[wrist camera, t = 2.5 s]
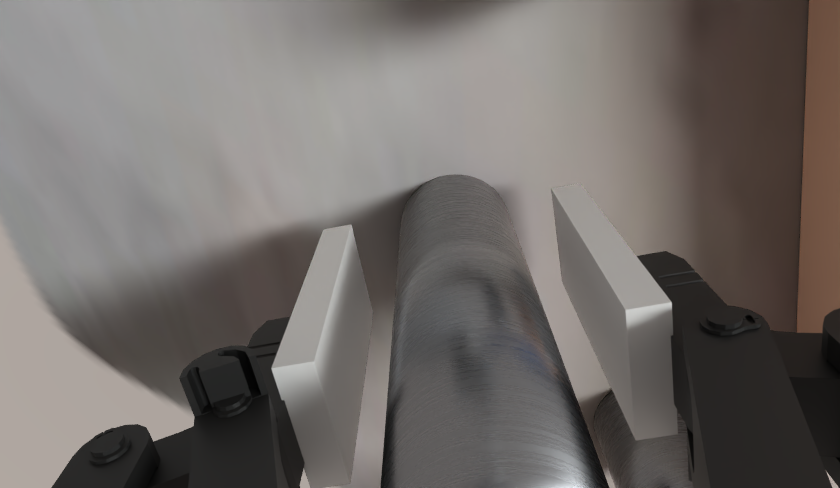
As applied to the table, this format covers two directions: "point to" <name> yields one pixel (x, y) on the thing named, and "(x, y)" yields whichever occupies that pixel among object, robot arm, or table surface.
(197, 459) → the robot arm
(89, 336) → the table surface
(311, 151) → the table surface
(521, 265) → the long pin
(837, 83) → the socket block
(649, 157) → the table surface
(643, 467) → the medium pin
